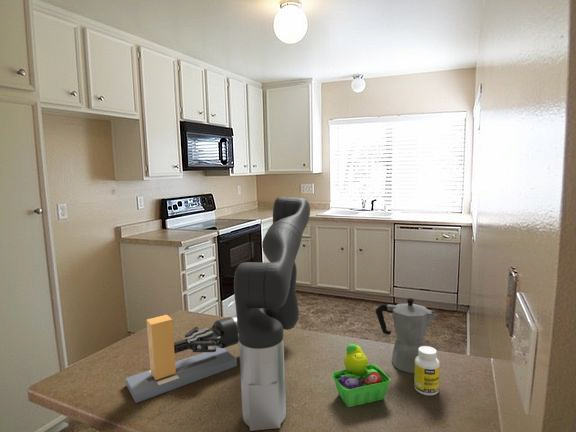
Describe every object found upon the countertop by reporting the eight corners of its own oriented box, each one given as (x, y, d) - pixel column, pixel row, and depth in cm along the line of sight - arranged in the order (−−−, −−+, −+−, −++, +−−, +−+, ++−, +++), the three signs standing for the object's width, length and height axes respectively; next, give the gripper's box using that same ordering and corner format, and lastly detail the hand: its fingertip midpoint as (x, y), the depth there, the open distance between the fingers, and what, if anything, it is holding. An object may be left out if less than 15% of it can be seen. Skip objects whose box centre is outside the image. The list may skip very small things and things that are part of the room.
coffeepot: (437, 360, 101) (438, 295, 98) (435, 378, 92) (437, 307, 90) (378, 350, 107) (378, 289, 104) (372, 366, 98) (372, 300, 96)
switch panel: (222, 353, 108) (221, 346, 108) (237, 365, 101) (236, 358, 100) (126, 385, 93) (125, 377, 92) (135, 403, 85) (135, 394, 85)
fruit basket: (345, 412, 80) (344, 362, 79) (329, 389, 89) (328, 344, 87) (392, 402, 83) (392, 353, 82) (372, 380, 92) (372, 337, 90)
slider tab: (170, 366, 96) (166, 314, 95) (175, 373, 93) (172, 319, 91) (150, 373, 94) (146, 319, 92) (155, 380, 90) (151, 324, 89)
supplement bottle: (423, 398, 84) (424, 357, 83) (409, 385, 89) (410, 346, 88) (444, 393, 86) (445, 353, 84) (429, 381, 91) (429, 342, 90)
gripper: (222, 310, 109) (162, 326, 99) (244, 324, 98) (179, 344, 88) (223, 334, 110) (164, 353, 100) (245, 351, 99) (181, 374, 89)
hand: (171, 348), depth 94 cm, fingers closed
